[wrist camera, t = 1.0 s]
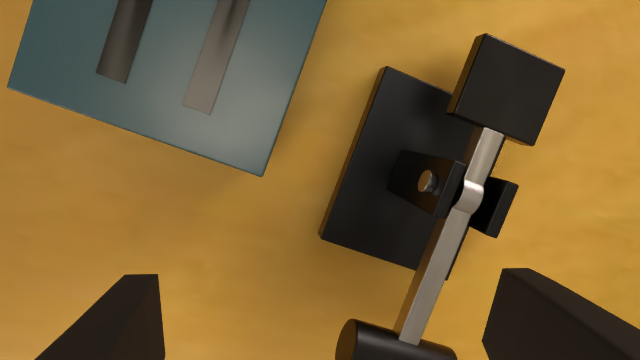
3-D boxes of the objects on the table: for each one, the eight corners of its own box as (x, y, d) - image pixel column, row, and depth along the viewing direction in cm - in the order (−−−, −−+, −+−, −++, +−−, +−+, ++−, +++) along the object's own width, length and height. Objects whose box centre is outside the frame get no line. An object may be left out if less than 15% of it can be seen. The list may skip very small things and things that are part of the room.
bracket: (439, 274, 26) (511, 336, 19) (317, 233, 25) (343, 283, 17) (502, 119, 26) (604, 119, 18) (380, 67, 24) (436, 45, 17)
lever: (424, 381, 21) (445, 414, 19) (331, 355, 20) (340, 386, 18) (551, 77, 20) (590, 71, 18) (457, 34, 19) (485, 22, 17)
